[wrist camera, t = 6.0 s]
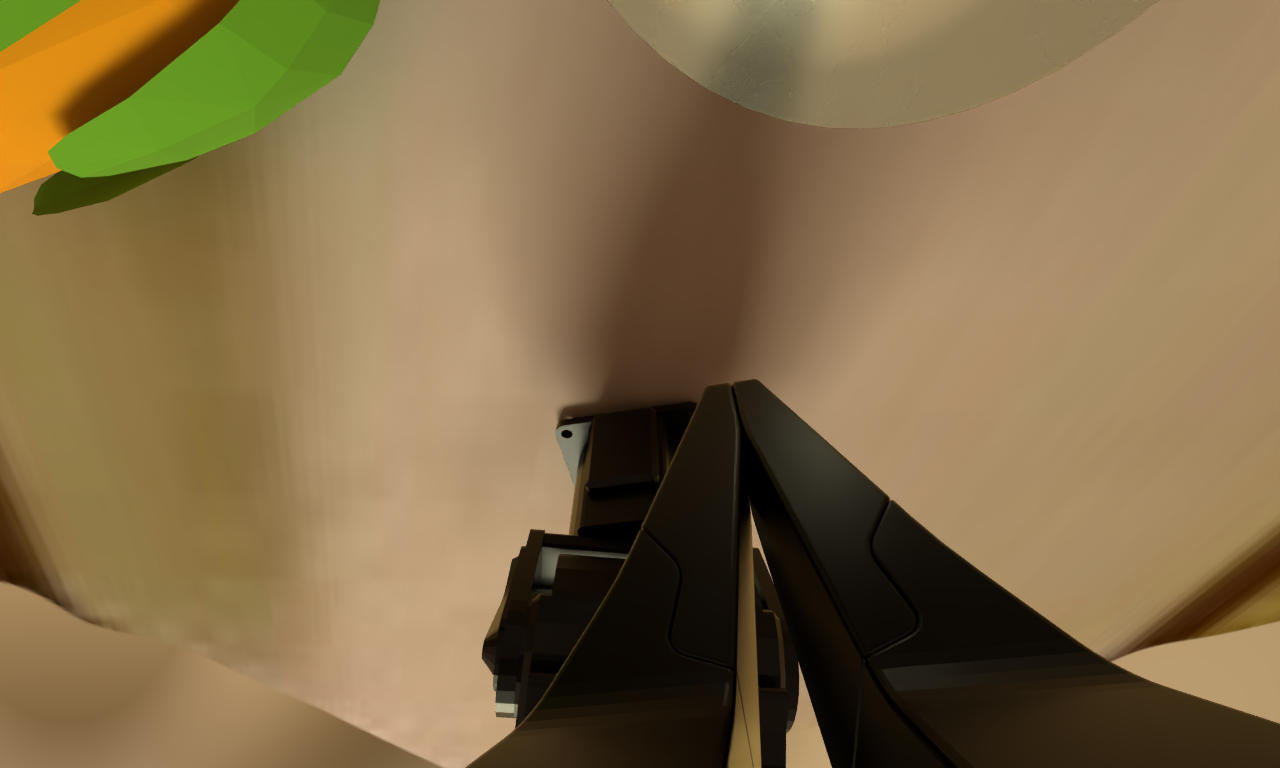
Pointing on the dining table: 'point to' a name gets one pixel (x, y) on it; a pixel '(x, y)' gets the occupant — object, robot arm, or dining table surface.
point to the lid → (871, 51)
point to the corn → (153, 83)
